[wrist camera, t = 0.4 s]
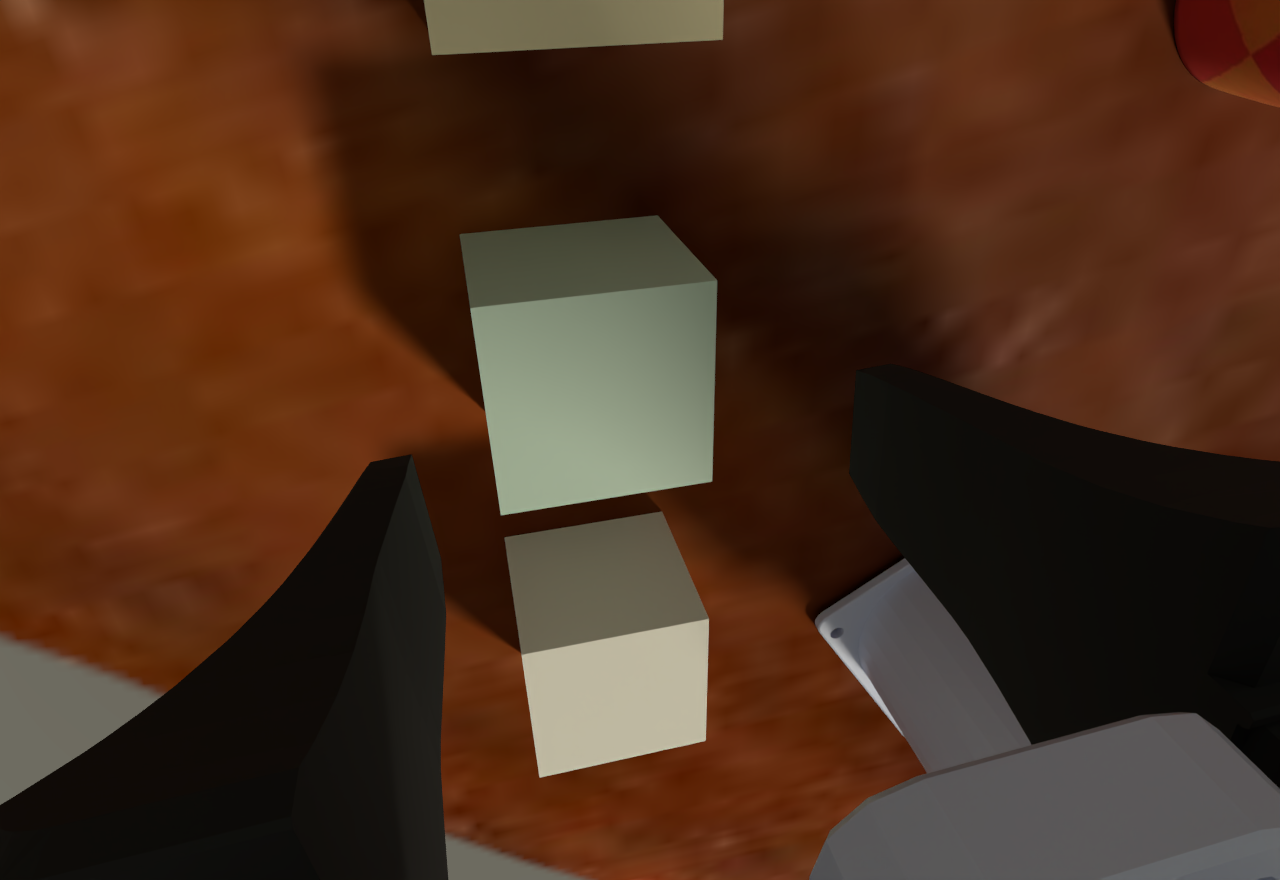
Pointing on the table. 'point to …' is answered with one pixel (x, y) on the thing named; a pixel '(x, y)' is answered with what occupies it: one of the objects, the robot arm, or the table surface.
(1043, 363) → the table surface
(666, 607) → the cream block
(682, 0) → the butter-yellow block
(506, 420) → the sage green block
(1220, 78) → the paper cup
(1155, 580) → the robot arm
